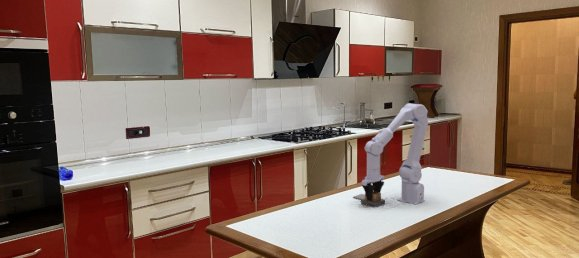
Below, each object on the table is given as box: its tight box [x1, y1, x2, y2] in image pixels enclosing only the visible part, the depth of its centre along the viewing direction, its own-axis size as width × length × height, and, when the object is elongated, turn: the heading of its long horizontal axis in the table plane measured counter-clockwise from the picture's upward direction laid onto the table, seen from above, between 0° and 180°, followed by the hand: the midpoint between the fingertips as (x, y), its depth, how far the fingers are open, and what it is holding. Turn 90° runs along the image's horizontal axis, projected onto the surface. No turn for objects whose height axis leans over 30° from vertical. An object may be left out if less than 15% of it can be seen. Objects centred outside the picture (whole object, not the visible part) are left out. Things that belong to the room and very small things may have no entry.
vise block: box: [360, 193, 386, 208], centre depth 190 cm, size 8×7×4 cm
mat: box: [352, 193, 365, 201], centre depth 200 cm, size 7×7×1 cm
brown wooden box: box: [364, 191, 382, 202], centre depth 190 cm, size 5×5×3 cm
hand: (372, 198), depth 190 cm, fingers closed on brown wooden box, 5 cm apart
